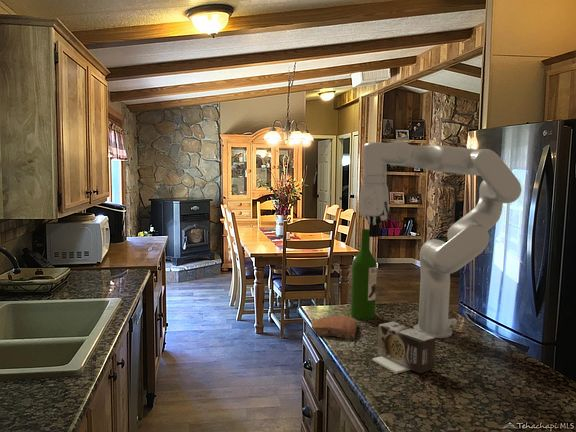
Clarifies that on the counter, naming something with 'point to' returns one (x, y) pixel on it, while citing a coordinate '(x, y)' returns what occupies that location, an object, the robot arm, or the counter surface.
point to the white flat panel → (390, 364)
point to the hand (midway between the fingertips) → (374, 236)
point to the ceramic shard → (335, 326)
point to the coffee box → (406, 346)
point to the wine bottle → (364, 281)
